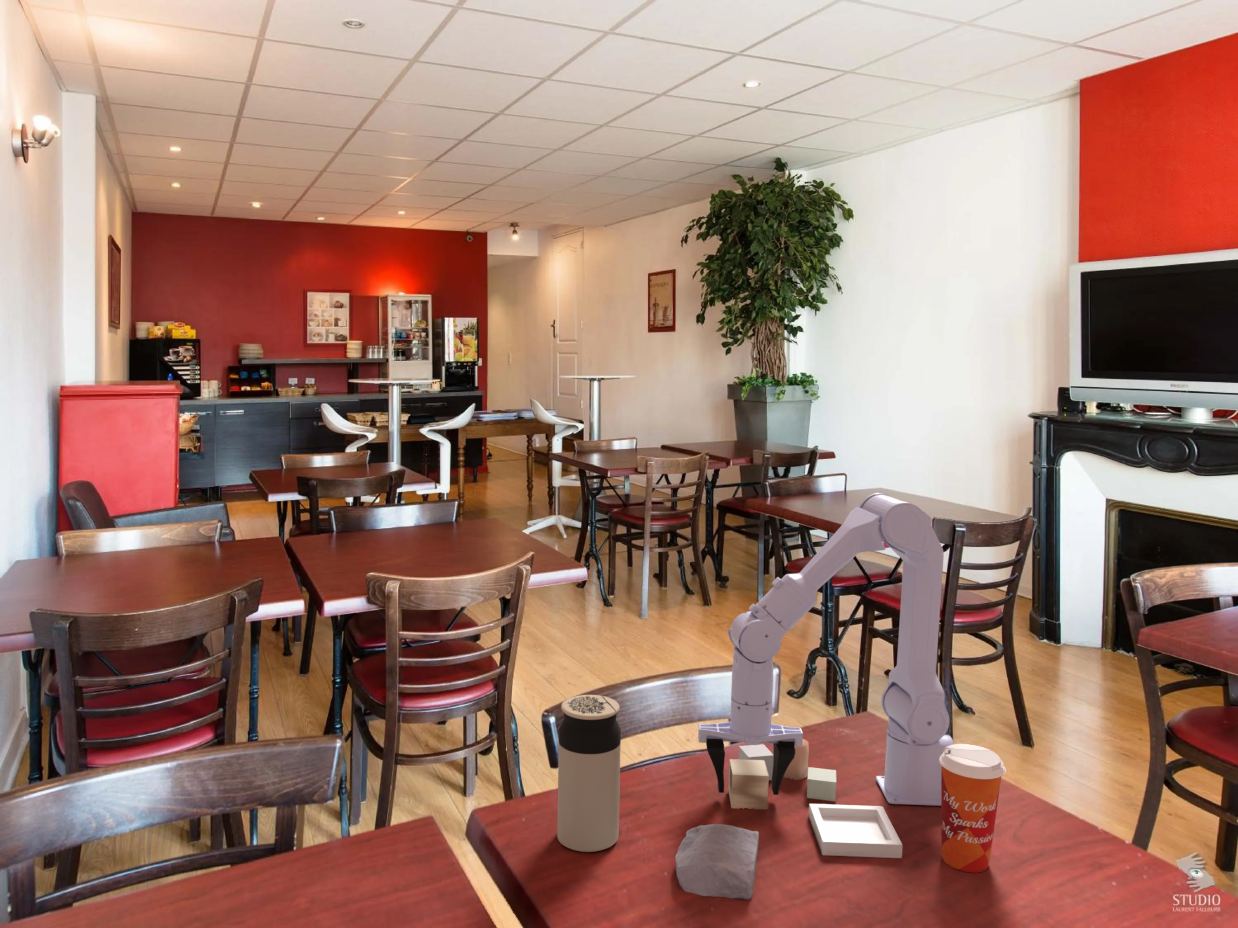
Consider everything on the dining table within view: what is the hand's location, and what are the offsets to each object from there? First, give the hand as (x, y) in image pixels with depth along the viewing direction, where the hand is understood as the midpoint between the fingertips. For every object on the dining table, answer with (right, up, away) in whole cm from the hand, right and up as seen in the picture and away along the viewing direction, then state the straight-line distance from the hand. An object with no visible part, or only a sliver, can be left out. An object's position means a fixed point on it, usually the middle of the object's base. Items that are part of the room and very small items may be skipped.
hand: (747, 790), depth 130 cm
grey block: (+2, -1, +8) cm, 8 cm away
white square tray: (+13, -3, -9) cm, 16 cm away
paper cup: (+25, -4, -14) cm, 30 cm away
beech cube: (0, -2, 0) cm, 2 cm away
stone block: (-6, -4, -18) cm, 19 cm away
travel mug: (-22, -2, -11) cm, 25 cm away
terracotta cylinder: (+8, -1, +9) cm, 12 cm away
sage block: (+11, -2, +3) cm, 12 cm away
